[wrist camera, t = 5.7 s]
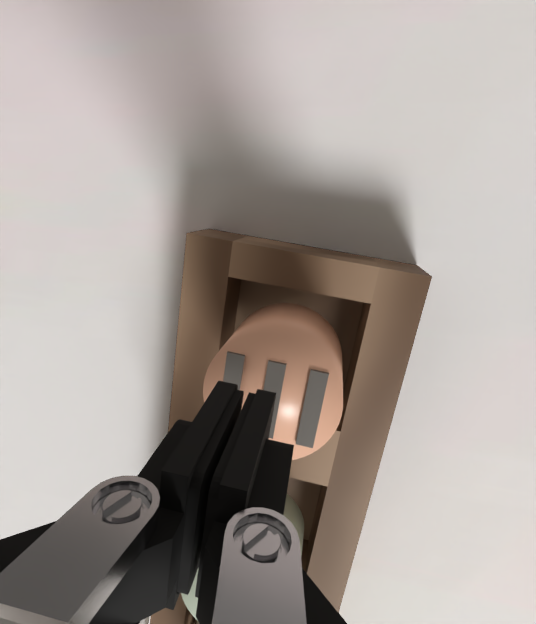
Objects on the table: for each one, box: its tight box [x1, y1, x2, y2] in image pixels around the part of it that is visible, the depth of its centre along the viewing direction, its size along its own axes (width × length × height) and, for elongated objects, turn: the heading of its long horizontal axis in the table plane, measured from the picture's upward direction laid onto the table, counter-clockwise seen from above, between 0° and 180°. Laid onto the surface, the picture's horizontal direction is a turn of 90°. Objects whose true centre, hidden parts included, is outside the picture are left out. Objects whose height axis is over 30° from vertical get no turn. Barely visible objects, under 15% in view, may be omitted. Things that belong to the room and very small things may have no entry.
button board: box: [150, 229, 432, 624], centre depth 21 cm, size 10×27×3 cm, turn 171°
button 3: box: [203, 303, 343, 460], centre depth 15 cm, size 5×5×4 cm
